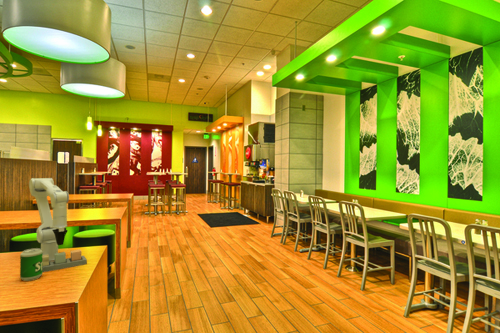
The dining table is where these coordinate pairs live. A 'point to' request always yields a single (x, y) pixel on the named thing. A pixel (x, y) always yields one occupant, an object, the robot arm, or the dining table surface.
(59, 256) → the pale green cube
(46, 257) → the maple key
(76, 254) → the orange brown cube
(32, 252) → the soda can
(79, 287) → the dining table surface
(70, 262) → the button board
